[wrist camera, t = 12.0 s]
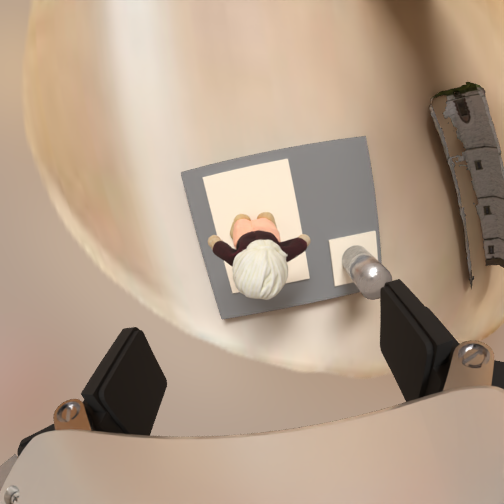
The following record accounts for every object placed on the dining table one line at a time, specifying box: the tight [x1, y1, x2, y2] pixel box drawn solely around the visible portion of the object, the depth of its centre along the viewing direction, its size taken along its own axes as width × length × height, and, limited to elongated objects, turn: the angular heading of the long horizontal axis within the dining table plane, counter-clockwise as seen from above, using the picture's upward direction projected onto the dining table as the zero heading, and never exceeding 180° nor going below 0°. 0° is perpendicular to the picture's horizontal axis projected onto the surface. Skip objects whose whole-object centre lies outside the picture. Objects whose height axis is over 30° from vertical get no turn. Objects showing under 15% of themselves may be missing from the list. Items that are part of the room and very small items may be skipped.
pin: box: [342, 245, 392, 300], centre depth 26 cm, size 3×3×6 cm
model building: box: [429, 82, 504, 289], centre depth 25 cm, size 7×7×25 cm
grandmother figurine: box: [208, 212, 311, 300], centre depth 22 cm, size 8×4×13 cm, turn 103°
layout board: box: [181, 136, 381, 319], centre depth 29 cm, size 18×16×2 cm
